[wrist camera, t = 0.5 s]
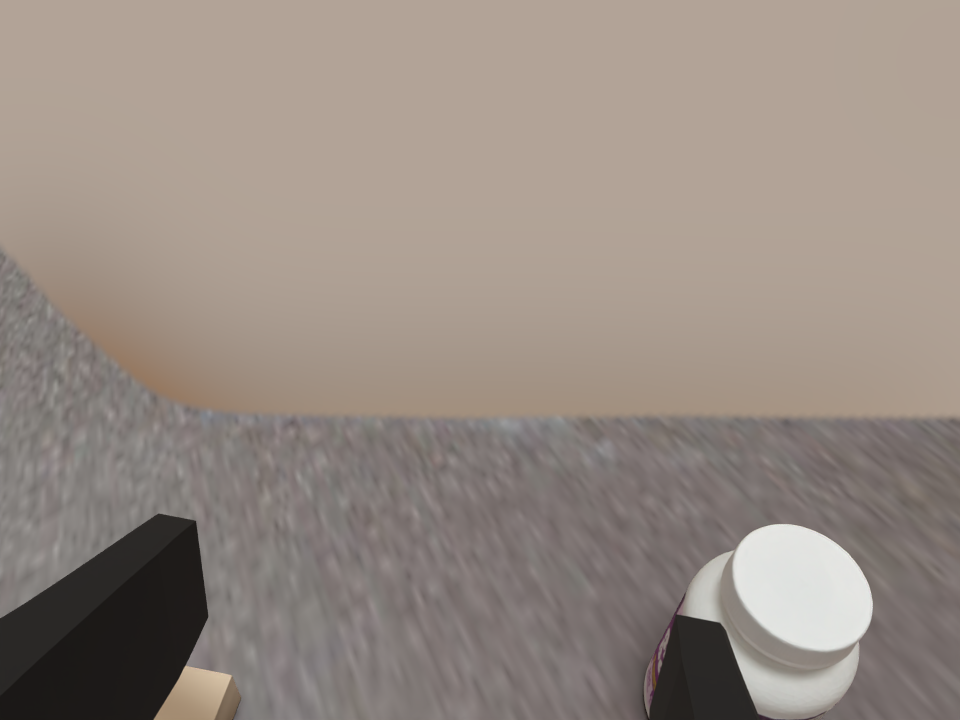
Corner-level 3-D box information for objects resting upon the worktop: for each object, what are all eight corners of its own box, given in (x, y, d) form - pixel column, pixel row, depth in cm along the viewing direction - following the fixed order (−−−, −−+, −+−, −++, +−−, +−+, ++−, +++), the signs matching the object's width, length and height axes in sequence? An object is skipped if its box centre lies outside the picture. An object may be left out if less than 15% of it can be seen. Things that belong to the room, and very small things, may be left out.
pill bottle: (610, 687, 30) (667, 555, 23) (709, 614, 33) (789, 473, 26) (714, 820, 28) (816, 715, 21) (816, 730, 30) (938, 607, 23)
